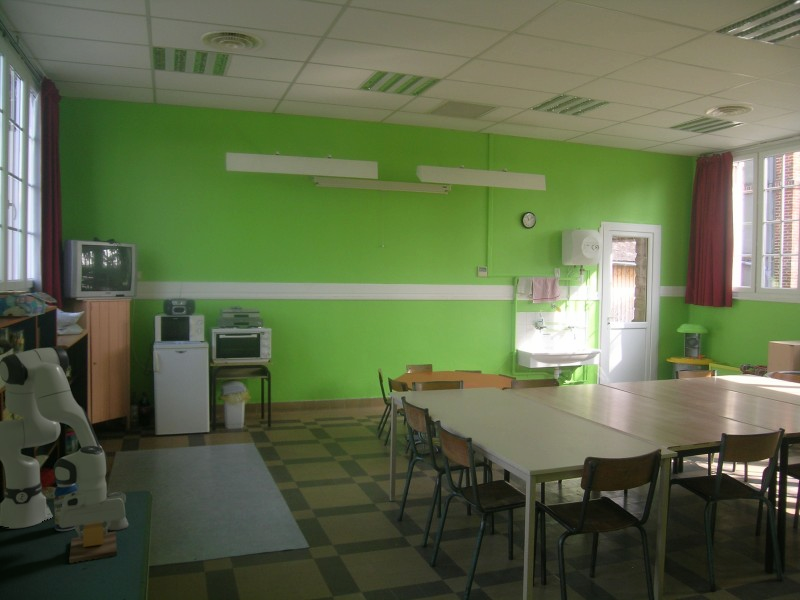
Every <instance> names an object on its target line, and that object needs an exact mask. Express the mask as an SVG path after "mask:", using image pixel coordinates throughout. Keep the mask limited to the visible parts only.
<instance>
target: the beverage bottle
mask: <svg viewBox="0 0 800 600" xmlns="http://www.w3.org/2000/svg"><path fill="white" fill-rule="evenodd" d="M55 484H56V485H57V486H56V488H55V490H54V492H53V495H54V498H53V504H54V505H53V506H54V529H55V530H56V531H59V532H67V531H72V530H75V526H73V527H66V528H61V527H60V526H59V519H60V512H61V508H62V505H63V499H64V497H65V495H67V494H70V493H72V492H75V491H77V490H78V485H77V484H70V485H63V484H60V483H59V482H58V481H57V480H56V479H55Z"/></svg>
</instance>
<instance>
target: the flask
mask: <svg viewBox="0 0 800 600" xmlns="http://www.w3.org/2000/svg"><path fill="white" fill-rule="evenodd" d="M129 526H130V524H129V521H128V519H127V518H126V516H125V517H124V518H123V519H120V520H113V521H111V525H110V526H109V528H108V531H120V530H124V529H128V527H129Z"/></svg>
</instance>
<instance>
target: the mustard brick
mask: <svg viewBox="0 0 800 600" xmlns="http://www.w3.org/2000/svg"><path fill="white" fill-rule="evenodd" d="M82 526H83V527H82V531H83V547H87V546H94V545H100V544H103V528H104V522H100V523H93V524H86V525H82Z"/></svg>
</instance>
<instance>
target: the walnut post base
mask: <svg viewBox="0 0 800 600" xmlns="http://www.w3.org/2000/svg"><path fill="white" fill-rule="evenodd" d="M70 541H71V543H70V547H69V549H70V550H69V557H68V563H70V564H74V562H76V563H80V562H79V561H82V562H86V561H85V560H88V561H92V559H94V560H99V558H100V559H105V558H111V557H117V555H118V550H117V549H118V548H117V531H111V532H108V534H104V535H103V544H100V545H94V546H87V547H83V538H79V536H78V537H74V538H73V537H71V540H70ZM110 556H111V557H110Z"/></svg>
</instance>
